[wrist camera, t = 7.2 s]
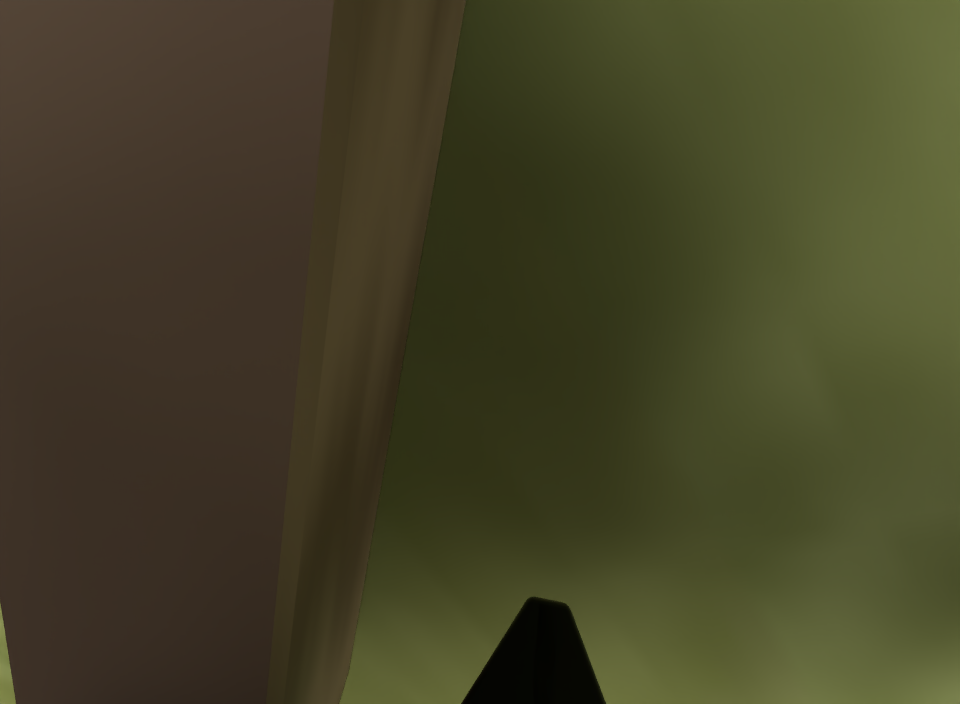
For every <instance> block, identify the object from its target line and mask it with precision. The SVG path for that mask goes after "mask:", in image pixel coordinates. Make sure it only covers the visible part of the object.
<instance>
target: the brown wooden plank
mask: <svg viewBox="0 0 960 704" xmlns="http://www.w3.org/2000/svg"><path fill="white" fill-rule="evenodd" d="M465 4H466V0H0V602H1V609H2V615H3V621H4V628H5V634H6V641H7V647H8V654H9V660H10V667H11V673H12V679H13V686H14V692H15V699H16V704H339V702H340V699H341V696H342V692H343V689H344V685H345V682H346V679H347V675H348V672H349V668H350V662H351V656H352V650H353V645H354V639H355V633H356V627H357V622H358V616H359V610H360V605H361V599H362V593H363V587H364V582H365V576H366V570H367V565H368V559H369V553H370V547H371V542H372V536H373V530H374V524H375V519H376V513H377V507H378V502H379V496H380V490H381V484H382V479H383V473H384V467H385V461H386V456H387V450H388V444H389V439H390V433H391V427H392V421H393V416H394V410H395V404H396V399H397V393H398V387H399V381H400V376H401V370H402V364H403V358H404V353H405V347H406V341H407V336H408V330H409V324H410V318H411V313H412V307H413V301H414V295H415V290H416V284H417V278H418V273H419V267H420V261H421V255H422V250H423V244H424V238H425V233H426V227H427V221H428V215H429V210H430V204H431V198H432V192H433V187H434V181H435V175H436V170H437V164H438V158H439V152H440V147H441V141H442V135H443V129H444V124H445V118H446V112H447V107H448V101H449V95H450V89H451V84H452V78H453V72H454V67H455V61H456V55H457V49H458V44H459V38H460V32H461V26H462V21H463V15H464V9H465Z"/></svg>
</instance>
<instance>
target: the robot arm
mask: <svg viewBox="0 0 960 704" xmlns="http://www.w3.org/2000/svg"><path fill="white" fill-rule="evenodd" d="M461 704H606V702H605V700H604V697H603V694H602V692H601V689H600V686H599V684H598V681H597V678H596V676H595V673H594V670H593V668H592V665H591V662H590V660H589V657H588V654H587V652H586V649H585V646H584V644H583V641H582V638H581V636H580V633H579V630H578V628H577V625H576V622H575V620H574V617H573V614H572V612H571V610H570V608H569V606H568V605H567V604H565V603H562V602H558V601H553V600H548V599H543V598H539V597H530V598H529V599H527V600H526V602H525V603H524V605H523V607H522V608H521V610H520V611H519V613H518V614H517V616H516V618H515V619H514V621H513V622H512V624H511V626H510V627H509V629H508V630H507V632H506V634H505V635H504V637H503V638H502V640H501V641H500V643H499V645H498V646H497V648H496V649H495V651H494V653H493V654H492V656H491V657H490V659H489V661H488V662H487V664H486V665H485V667H484V668H483V670H482V672H481V673H480V675H479V676H478V678H477V680H476V681H475V683H474V684H473V686H472V687H471V689H470V691H469V692H468V694H467V695H466V697H465V699H464V700H463V702H462V703H461Z"/></svg>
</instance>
